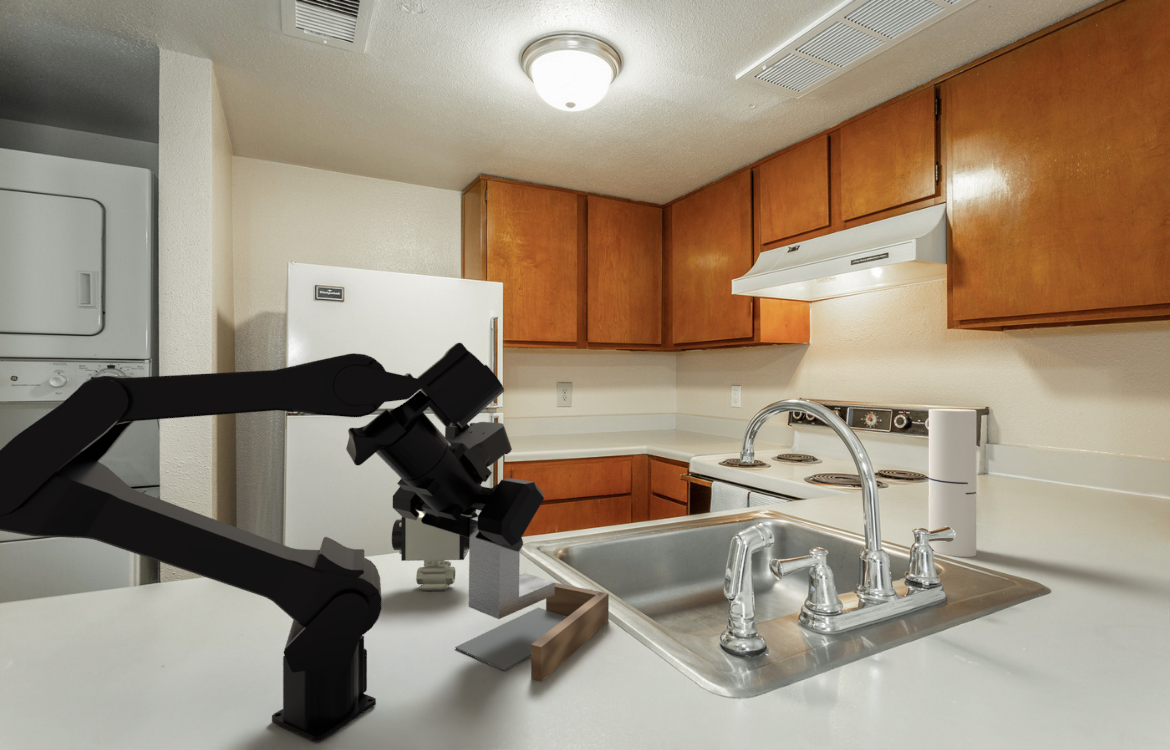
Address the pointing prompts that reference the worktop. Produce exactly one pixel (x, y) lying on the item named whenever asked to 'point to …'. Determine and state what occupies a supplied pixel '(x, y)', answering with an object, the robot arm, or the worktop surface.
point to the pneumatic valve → (429, 551)
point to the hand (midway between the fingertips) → (503, 543)
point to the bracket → (501, 579)
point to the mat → (511, 639)
